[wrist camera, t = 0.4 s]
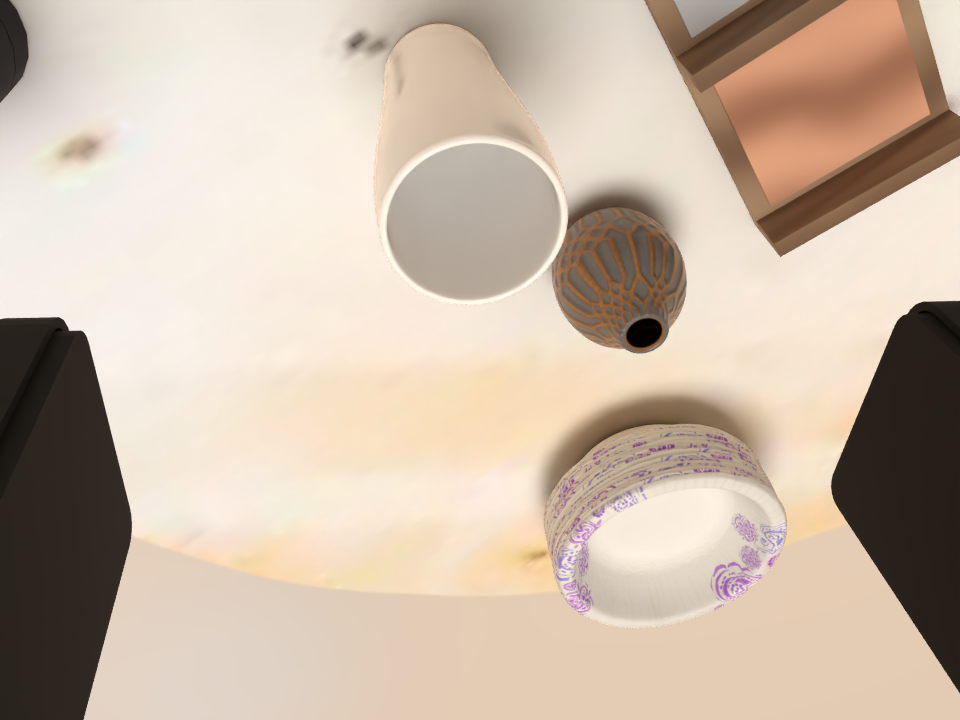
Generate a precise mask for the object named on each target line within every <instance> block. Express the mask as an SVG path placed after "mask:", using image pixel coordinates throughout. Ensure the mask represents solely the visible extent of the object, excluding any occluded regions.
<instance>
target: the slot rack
mask: <svg viewBox="0 0 960 720" xmlns="http://www.w3.org/2000/svg"><path fill="white" fill-rule="evenodd" d="M645 2H646V4H647V6H648V8H649V10H650V12H651V14H652V16H653V18H654V20H655V22H656V24H657V26H658V28H659V30H660V32H661V34H662V36H663V38H664V40H665V42H666V45H667V47H668V49H669V51H670V53H671V55H672V57H673V59H674V61H675V63H676V65H677V67H678V69H679V71H680V73H681V75H682V77H683V79H684V81H685V83H686V85H687V87H688V89H689V91H690V93H691V95H692V97H693V99H694V101H695V103H696V105H697V107H698V109H699V111H700V113H701V115H702V117H703V120H704V122H705V124H706V126H707V128H708V130H709V132H710V134H711V136H712V138H713V140H714V142H715V144H716V146H717V148H718V150H719V152H720V154H721V156H722V158H723V160H724V162H725V164H726V166H727V168H728V170H729V172H730V174H731V176H732V178H733V180H734V182H735V184H736V186H737V188H738V190H739V192H740V195H741V197H742V199H743V201H744V203H745V205H746V207H747V209H748V211H749V213H750V215H751V217H752V219H753V221H754V223H755V225H756V226H757V228H758V229H759V230H760V232H761V233H762V234H763V235H764V237H765V238H766V239H767V240H768V242H769V243H770V244H771V246H772V247H773V248H774V249H775V251H776V252H777V253H778V255H779V256H780V257H781V256H783V255H785V254H786V253H788V252H790V251H792V250H793V249H795V248H797V247H799V246H800V245H802V244H804V243H806V242H808V241H809V240H811V239H813V238H815V237H816V236H818V235H820V234H822V233H823V232H825V231H827V230H829V229H831V228H832V227H834V226H836V225H838V224H839V223H841V222H843V221H845V220H846V219H848V218H850V217H852V216H854V215H855V214H857V213H859V212H861V211H862V210H864V209H866V208H868V207H869V206H871V205H873V204H875V203H877V202H878V201H880V200H882V199H884V198H885V197H887V196H889V195H891V194H892V193H894V192H896V191H898V190H900V189H901V188H903V187H905V186H907V185H908V184H910V183H912V182H914V181H916V180H917V179H919V178H921V177H923V176H924V175H926V174H928V173H930V172H931V171H933V170H935V169H937V168H939V167H940V166H942V165H944V164H946V163H947V162H949V161H951V160H953V159H954V158H956V157H958V156H960V116H958V115H957V114H955V113H954V112H952V111H951V110H949V107H948V104H947V100H946V97H945V93H944V90H943V86H942V82H941V79H940V75H939V72H938V68H937V65H936V61H935V57H934V54H933V50H932V47H931V43H930V39H929V36H928V32H927V29H926V25H925V22H924V18H923V14H922V11H921V7H920V4H919V0H645Z"/></svg>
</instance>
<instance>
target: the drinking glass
mask: <svg viewBox="0 0 960 720" xmlns="http://www.w3.org/2000/svg"><path fill="white" fill-rule="evenodd" d="M383 86H384V96H383V104H382V111H381V118H380V125H379V132H378V139H377V145H376V153H375V162H374V201H375V210H376V218H377V224H378V230H379V237H380V242H381V246H382V249H383V252H384V254H385V256H386V258H387V260H388V262H389V264H390V265H391V267H392V268H393V270H394V271H395V272H396V273H397V275H398V276H399V277H400V278H401V279H402V280H403V281H404V282H405V283H407V284H408V285H409V286H410V287H412V288H413V289H415V290H416V291H418V292H420V293H421V294H423V295H425V296H427V297H430V298H432V299H435V300H438V301H442V302H446V303H451V304H459V305H477V304H485V303H490V302H494V301H498V300H501V299H504V298H507V297H509V296H511V295H514V294H516V293H518V292H519V291H521V290H523V289H525V288H526V287H528V286H529V285H530V284H532V283H533V282H534V281H536V280H537V279H538V278H539V277H540V276H541V275H542V274H543V273H544V272H545V271H546V270H547V269H548V268H549V266H550V265H551V263H552V262H553V261H554V259H555V258H556V256H557V254H558V252H559V250H560V248H561V246H562V244H563V241H564V238H565V234H566V231H567V224H568V203H567V198H566V194H565V190H564V187H563V185H562V182H561V179H560V175H559V172H558V170H557V167H556V164H555V162H554V159H553V157H552V154H551V152H550V150H549V147H548V145H547V143H546V141H545V139H544V137H543V136H542V134H541V132H540V130H539V128H538V127H537V125H536V123H535V122H534V120H533V119H532V117H531V116H530V114H529V113H528V112H527V110H526V109H525V107H524V106H523V105H522V103H521V102H520V100H519V99H518V98H517V96H516V95H515V94H514V92H513V91H512V90H511V88H510V87H509V85H508V84H507V83H506V81H505V80H504V78H503V77H502V76H501V74H500V73H499V71H498V70H497V68H496V67H495V65H494V64H493V61H492V59H491V57H490V55H489V53H488V51H487V49H486V48H485V47H484V45H483V44H482V43H481V42H480V41H479V40H478V39H477V38H476V37H475V36H474V35H472V34H471V33H470V32H468V31H466V30H465V29H462V28H460V27H457V26H454V25H450V24H429V25H425V26H422V27H419V28H417V29H415V30H413V31H411V32H409V33H408V34H406V35H405V36H404V37H403V38H402V39H401V40H400V41H399V42H398V43H397V44H396V45H395V47H394V48H393V49H392V51H391V53H390V55H389V57H388V59H387V62H386V65H385V70H384V77H383Z"/></svg>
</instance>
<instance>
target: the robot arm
mask: <svg viewBox="0 0 960 720" xmlns="http://www.w3.org/2000/svg"><path fill="white" fill-rule="evenodd" d="M831 489H832V495H833V499H834V501H835V503H836V505H837V507H838V509H839V510H840V512H841V513H842V515H843V516H844V518H845V519H846V521H847V522H848V524H849V525H850V527H851V528H852V530H853V531H854V533H855V535H856V536H857V538H858V539H859V541H860V542H861V544H862V545H863V547H864V548H865V550H866V551H867V553H868V554H869V556H870V557H871V559H872V560H873V562H874V563H875V565H876V566H877V568H878V570H879V571H880V573H881V574H882V576H883V577H884V578H885V580H886V582H887V583H888V585H889V586H890V587H891V589H892V591H893V592H894V594H895V595H896V597H897V598H898V600H899V601H900V603H901V604H902V606H903V608H904V609H905V611H906V612H907V614H908V615H909V617H910V618H911V620H912V621H913V623H914V624H915V626H916V627H917V629H918V630H919V632H920V633H921V635H922V636H923V638H924V639H925V641H926V642H927V644H928V646H929V647H930V649H931V650H932V651H933V653H934V655H935V656H936V658H937V659H938V661H939V662H940V664H941V665H942V667H943V668H944V670H945V671H946V673H947V674H948V676H949V677H950V679H951V681H952V682H953V684H954V685H955V686H956V688H957V689H958V691H959V693H960V301H936V302H921V303H918V304H916V305H915V306H914V307H913V308H912V309H910V311H909V313H908V314H906V315H903V316H902V317H901V318H900V319H899V320H898V321H897V323H896V325H895V326H894V329H893V331H892V334H891V336H890V339H889V341H888V343H887V346H886V348H885V351H884V353H883V355H882V358H881V360H880V363H879V365H878V367H877V370H876V372H875V375H874V377H873V379H872V382H871V384H870V387H869V389H868V392H867V394H866V396H865V399H864V401H863V404H862V406H861V408H860V411H859V413H858V416H857V418H856V420H855V423H854V425H853V428H852V430H851V432H850V435H849V437H848V440H847V442H846V444H845V447H844V449H843V452H842V454H841V457H840V459H839V461H838V464H837V466H836V469H835V471H834V473H833V477H832V482H831ZM131 532H132V520H131V511H130V507H129V503H128V499H127V495H126V491H125V487H124V483H123V479H122V475H121V471H120V467H119V463H118V459H117V455H116V451H115V447H114V443H113V438H112V434H111V430H110V426H109V422H108V418H107V414H106V410H105V406H104V402H103V398H102V394H101V390H100V386H99V382H98V378H97V374H96V370H95V366H94V362H93V358H92V354H91V350H90V346H89V343H88V340H87V337H86V335H85V334H84V332H82V331H69V329H68V326H67V325H66V323H65V322H64V320H63V319H61V318H59V317H52V318H4V319H0V720H83V719H84V715H85V711H86V708H87V704H88V700H89V697H90V693H91V689H92V685H93V682H94V678H95V674H96V670H97V667H98V663H99V659H100V655H101V651H102V647H103V644H104V640H105V636H106V633H107V629H108V625H109V621H110V617H111V613H112V610H113V606H114V602H115V599H116V595H117V591H118V587H119V584H120V580H121V576H122V572H123V568H124V565H125V560H126V557H127V553H128V549H129V546H130V541H131Z"/></svg>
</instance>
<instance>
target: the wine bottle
mask: <svg viewBox="0 0 960 720" xmlns="http://www.w3.org/2000/svg"><path fill="white" fill-rule="evenodd" d="M27 59H28V48H27V36H26V32H25V30H24V27H23V25H22V23H21V20H20V18H19V15H18V13H17V11H16V9H15V8H14V7H13V5H12V4H11V3H10V1H9V0H0V102H1V101H2V100H3V99H4V98H5V97H6V96H7V94H8V93H9V92H10V91H11V90H12V89H13V87H14V86H15V85H16V84H17V83H18V81H19V80H20V79H21V78H22V76H23V73H24V69H25V66H26V63H27Z"/></svg>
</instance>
